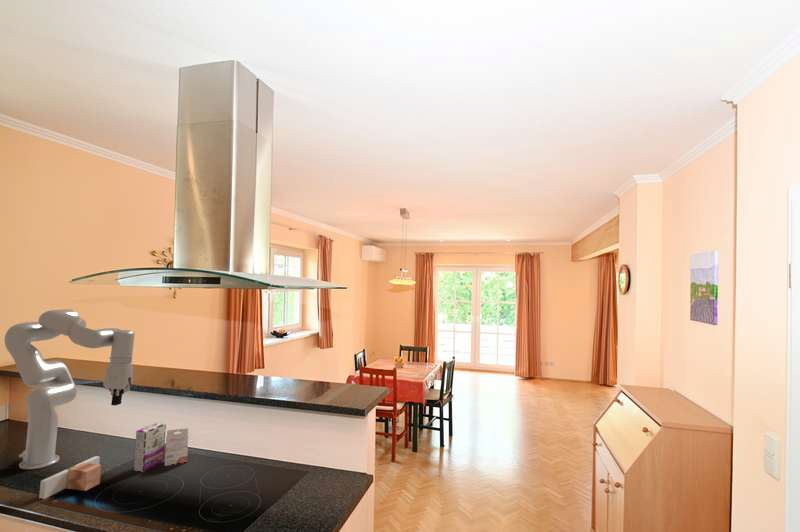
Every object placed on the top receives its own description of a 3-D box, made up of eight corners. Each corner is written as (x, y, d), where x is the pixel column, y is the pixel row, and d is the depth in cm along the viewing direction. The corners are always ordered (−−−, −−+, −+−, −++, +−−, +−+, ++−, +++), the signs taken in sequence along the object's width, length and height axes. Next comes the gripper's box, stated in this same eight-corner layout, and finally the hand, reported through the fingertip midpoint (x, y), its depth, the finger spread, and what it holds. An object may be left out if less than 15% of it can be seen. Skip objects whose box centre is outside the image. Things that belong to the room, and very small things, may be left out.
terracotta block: (66, 488, 150) (68, 469, 151) (81, 481, 156) (83, 462, 157) (85, 491, 149) (87, 471, 149) (99, 483, 155) (101, 464, 155)
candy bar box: (154, 460, 177) (157, 421, 178) (163, 461, 176) (166, 423, 177) (132, 471, 166) (135, 430, 167) (142, 472, 165) (146, 431, 166)
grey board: (38, 498, 143) (40, 480, 143) (94, 471, 164) (95, 455, 165) (44, 499, 142) (45, 480, 143) (98, 471, 164) (100, 456, 164)
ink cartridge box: (186, 458, 180) (189, 424, 181) (186, 463, 175) (189, 428, 176) (164, 461, 176) (167, 427, 177) (163, 466, 171) (166, 430, 172)
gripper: (97, 359, 167) (92, 404, 166) (129, 363, 164) (123, 409, 163) (113, 356, 174) (108, 400, 173) (143, 360, 172) (139, 404, 171)
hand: (116, 404), depth 168 cm, fingers closed
